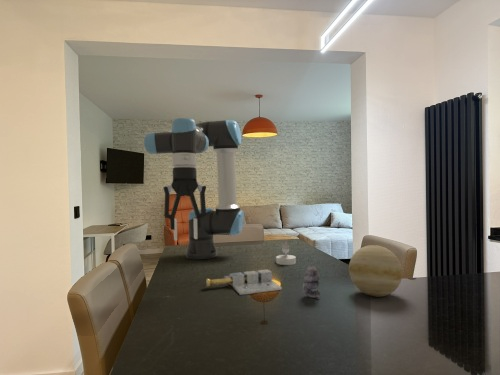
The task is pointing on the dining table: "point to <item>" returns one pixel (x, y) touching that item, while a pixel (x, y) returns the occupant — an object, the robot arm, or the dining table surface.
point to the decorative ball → (375, 270)
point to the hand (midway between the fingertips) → (185, 239)
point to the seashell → (311, 282)
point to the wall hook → (285, 256)
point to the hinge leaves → (253, 282)
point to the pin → (221, 281)
